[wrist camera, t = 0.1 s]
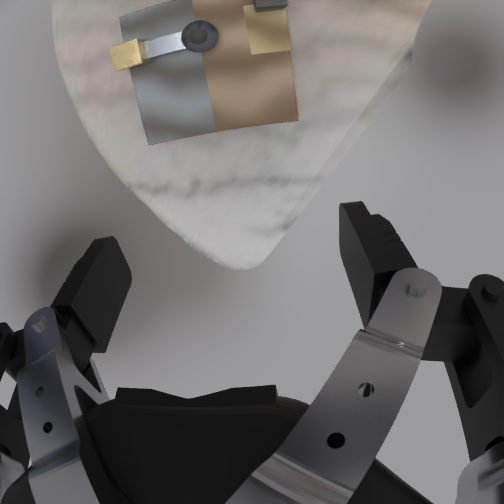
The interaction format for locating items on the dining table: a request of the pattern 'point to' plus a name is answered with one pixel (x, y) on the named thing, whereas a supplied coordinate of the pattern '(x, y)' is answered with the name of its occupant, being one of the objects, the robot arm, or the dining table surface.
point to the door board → (214, 68)
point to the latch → (161, 46)
